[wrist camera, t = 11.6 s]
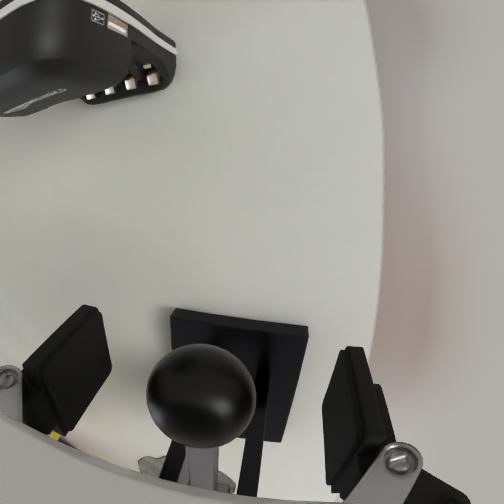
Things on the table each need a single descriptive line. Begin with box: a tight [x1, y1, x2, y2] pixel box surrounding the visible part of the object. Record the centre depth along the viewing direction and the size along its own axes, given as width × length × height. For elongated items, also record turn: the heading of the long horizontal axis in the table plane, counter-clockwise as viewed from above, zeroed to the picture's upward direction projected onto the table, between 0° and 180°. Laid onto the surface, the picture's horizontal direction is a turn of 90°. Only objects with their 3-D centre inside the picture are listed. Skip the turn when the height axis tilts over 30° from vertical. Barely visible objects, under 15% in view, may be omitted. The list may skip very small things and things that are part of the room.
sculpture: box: [138, 457, 236, 494], centre depth 30 cm, size 12×9×8 cm
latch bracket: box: [158, 308, 309, 497], centre depth 17 cm, size 12×9×13 cm
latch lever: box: [146, 344, 256, 493], centre depth 11 cm, size 13×3×3 cm, turn 175°
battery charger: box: [0, 0, 177, 117], centre depth 11 cm, size 7×4×11 cm, turn 92°
